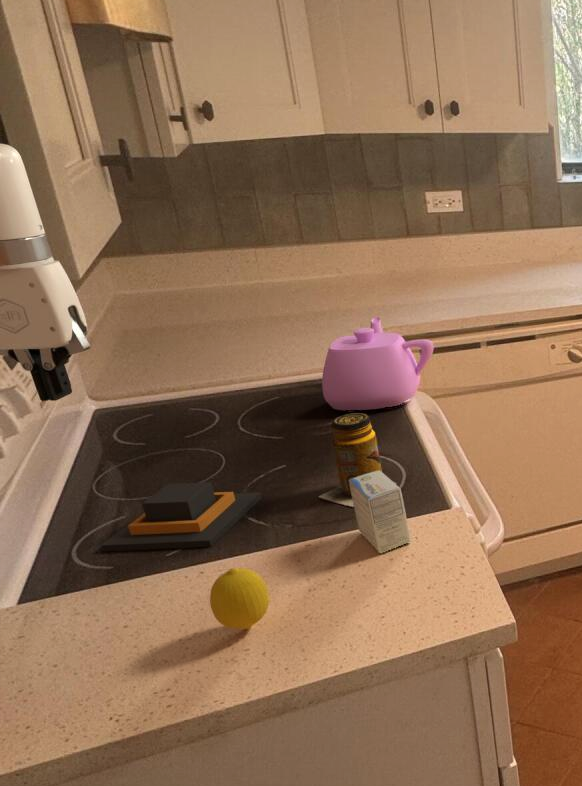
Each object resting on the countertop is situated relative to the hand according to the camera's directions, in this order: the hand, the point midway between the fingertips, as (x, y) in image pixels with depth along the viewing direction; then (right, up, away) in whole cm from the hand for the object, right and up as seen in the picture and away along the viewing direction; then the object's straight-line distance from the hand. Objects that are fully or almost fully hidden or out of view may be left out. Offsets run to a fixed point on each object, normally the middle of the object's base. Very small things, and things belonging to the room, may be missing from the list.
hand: (57, 396), depth 99 cm
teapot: (+12, -1, +60) cm, 62 cm away
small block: (+6, -17, +14) cm, 23 cm away
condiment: (+27, -15, +23) cm, 38 cm away
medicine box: (+37, -20, +10) cm, 43 cm away
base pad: (+6, -18, +14) cm, 24 cm away
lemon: (+30, -27, -9) cm, 41 cm away
